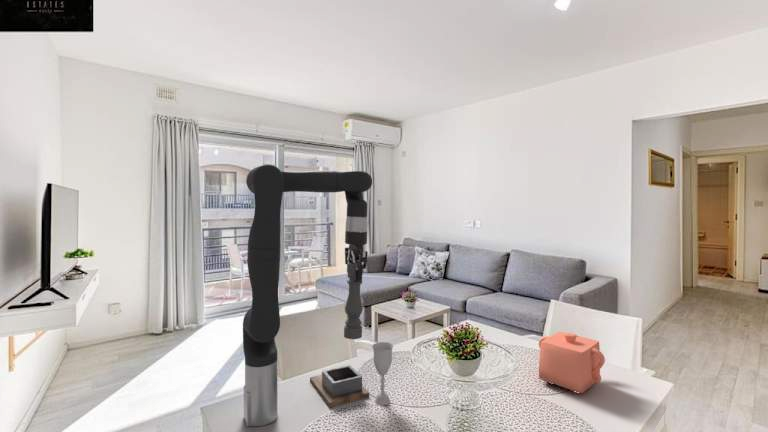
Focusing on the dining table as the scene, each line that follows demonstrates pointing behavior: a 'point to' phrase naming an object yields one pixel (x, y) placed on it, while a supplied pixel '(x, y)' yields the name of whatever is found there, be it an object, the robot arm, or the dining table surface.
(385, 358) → the chalice
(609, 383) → the dining table surface
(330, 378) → the collar
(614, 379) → the dining table surface
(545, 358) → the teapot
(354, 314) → the candle holder
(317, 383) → the keeper plate
